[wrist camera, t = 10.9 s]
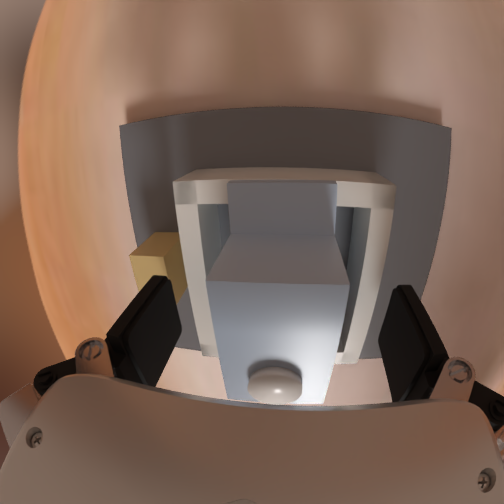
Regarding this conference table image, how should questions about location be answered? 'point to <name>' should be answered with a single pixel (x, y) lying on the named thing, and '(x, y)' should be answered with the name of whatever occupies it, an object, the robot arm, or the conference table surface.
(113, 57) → the conference table surface
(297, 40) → the conference table surface
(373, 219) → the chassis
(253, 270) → the block
